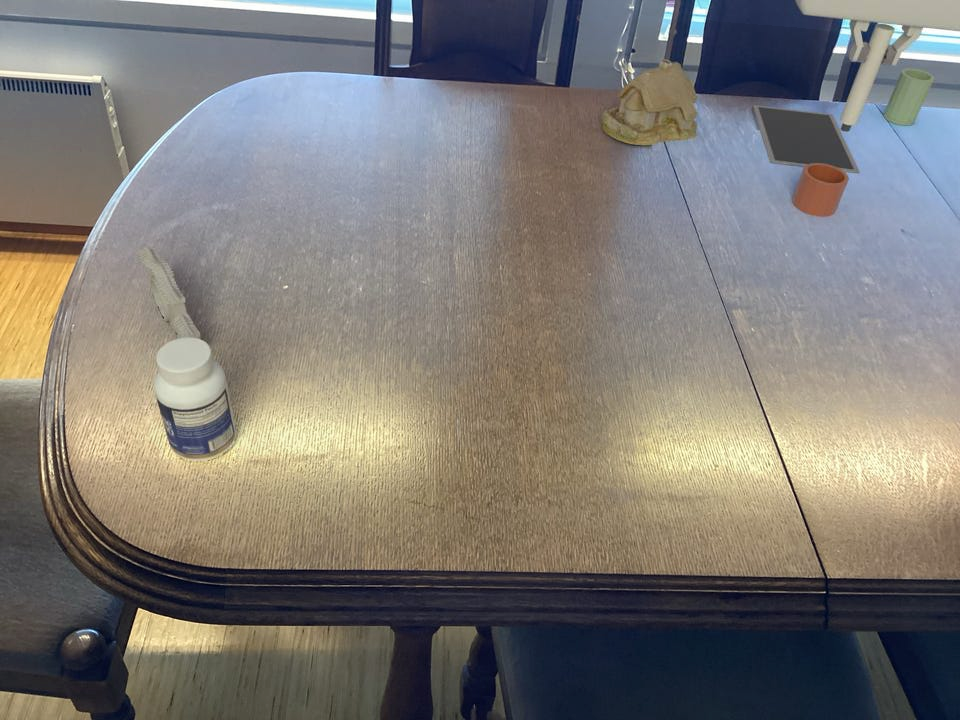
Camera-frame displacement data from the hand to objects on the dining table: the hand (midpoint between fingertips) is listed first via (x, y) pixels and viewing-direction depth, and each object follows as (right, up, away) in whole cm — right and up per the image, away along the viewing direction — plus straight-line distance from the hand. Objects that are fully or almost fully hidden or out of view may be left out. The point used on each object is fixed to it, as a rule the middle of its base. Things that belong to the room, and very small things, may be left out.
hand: (871, 62), depth 91 cm
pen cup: (+21, +4, +35) cm, 41 cm away
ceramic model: (-19, 0, +26) cm, 33 cm away
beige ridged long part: (-73, -30, -12) cm, 80 cm away
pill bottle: (-67, -40, -23) cm, 81 cm away
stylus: (-1, -6, +5) cm, 8 cm away
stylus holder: (-1, -14, +13) cm, 19 cm away
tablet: (+3, -2, +27) cm, 27 cm away
